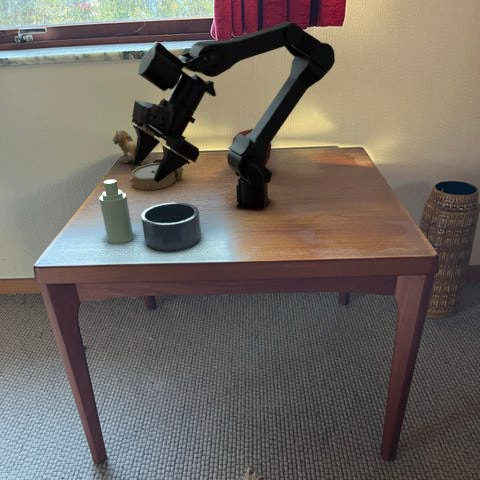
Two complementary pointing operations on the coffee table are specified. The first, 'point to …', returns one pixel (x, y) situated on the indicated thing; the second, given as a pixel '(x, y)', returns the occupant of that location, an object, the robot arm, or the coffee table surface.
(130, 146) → the lion figurine
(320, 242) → the coffee table surface
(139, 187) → the alarm clock
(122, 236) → the capped bottle
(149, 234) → the pot
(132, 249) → the coffee table surface
